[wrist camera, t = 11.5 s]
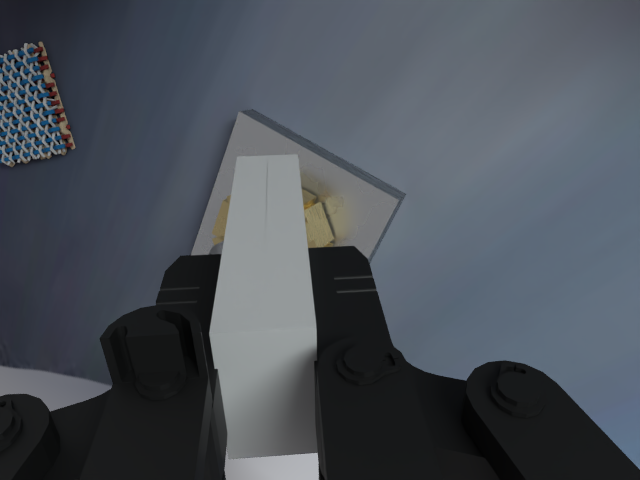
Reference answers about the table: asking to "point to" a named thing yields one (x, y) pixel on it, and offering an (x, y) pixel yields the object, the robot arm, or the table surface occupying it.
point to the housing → (307, 186)
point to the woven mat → (30, 108)
